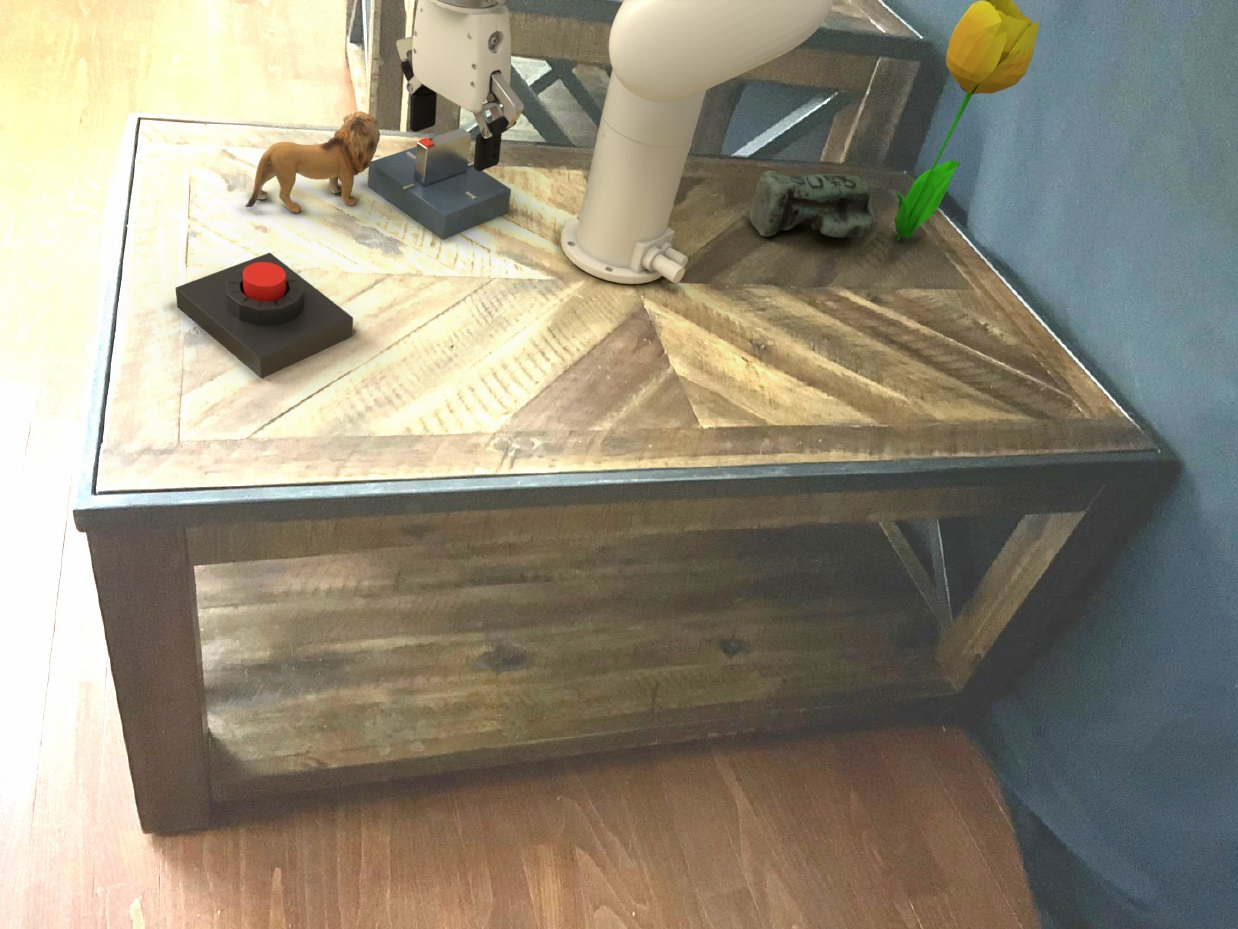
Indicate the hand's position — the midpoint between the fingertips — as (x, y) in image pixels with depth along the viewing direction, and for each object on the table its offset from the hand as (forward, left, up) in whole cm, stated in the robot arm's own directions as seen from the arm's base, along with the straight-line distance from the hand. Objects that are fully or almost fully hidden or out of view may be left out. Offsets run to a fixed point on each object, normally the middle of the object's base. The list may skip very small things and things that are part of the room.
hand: (453, 147), depth 109 cm
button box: (-6, +29, -7) cm, 30 cm away
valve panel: (+1, +1, -7) cm, 7 cm away
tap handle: (+1, +1, -4) cm, 4 cm away
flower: (-36, -44, -7) cm, 58 cm away
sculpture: (-27, -34, -7) cm, 44 cm away
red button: (-6, +29, -3) cm, 29 cm away
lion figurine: (+8, +12, -7) cm, 16 cm away
